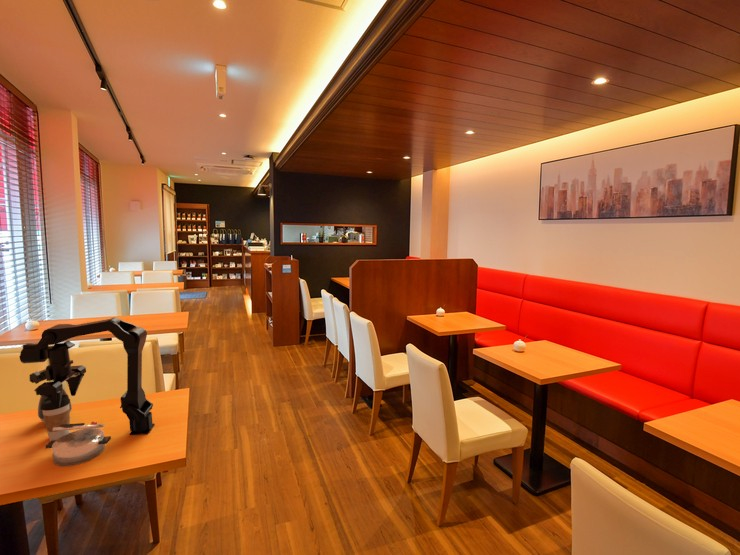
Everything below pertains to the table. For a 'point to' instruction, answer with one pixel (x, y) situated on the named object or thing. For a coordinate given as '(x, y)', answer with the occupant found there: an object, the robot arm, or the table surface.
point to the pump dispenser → (40, 412)
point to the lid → (77, 426)
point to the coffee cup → (56, 416)
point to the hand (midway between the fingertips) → (65, 401)
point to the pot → (78, 446)
